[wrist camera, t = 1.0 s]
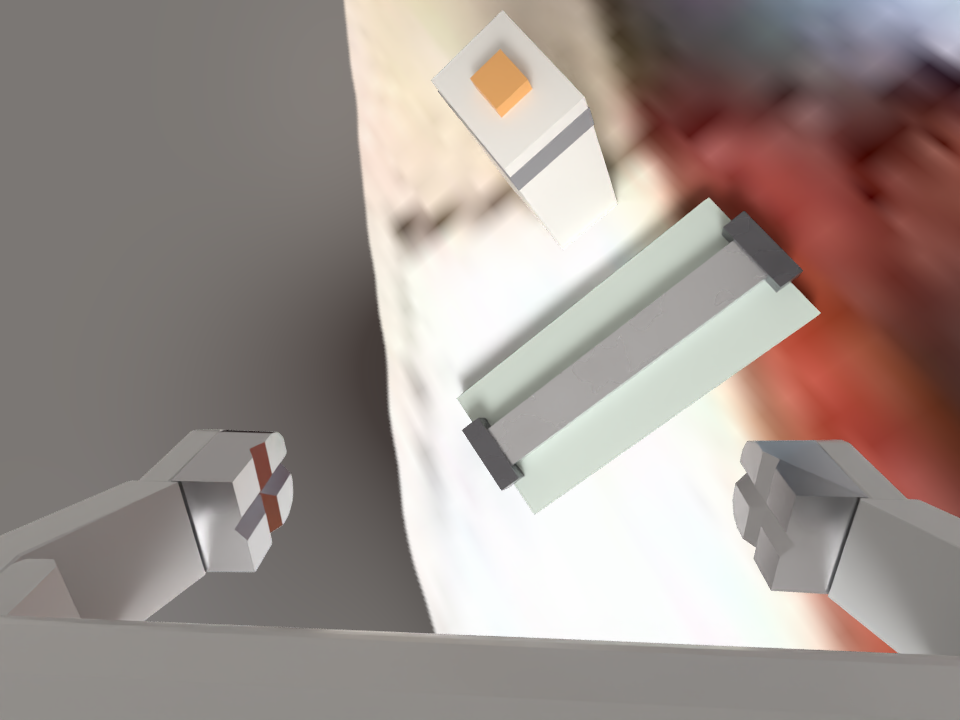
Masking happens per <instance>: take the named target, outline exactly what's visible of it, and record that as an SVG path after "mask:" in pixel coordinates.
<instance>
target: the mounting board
mask: <svg viewBox="0 0 960 720" xmlns="http://www.w3.org/2000/svg"><path fill="white" fill-rule="evenodd" d="M730 221H731V220H730V219H729V218H728V217H727V216H726V215H725V214H724V213H723V212H722V210H721V209H720V208H719V207H718V206H717V205H716V204H715V203H714V202H713V201H712V200H711V199H710V198H709V197H708V198H707V199H706V200H704V201H703V202H702V203H701V204H699V205H698V206H697V207H696V208H694V209H693V210H692V211H691V212H689V213H688V214H687V215H686V216H684V217H683V218H682V219H681V220H679V221H678V222H677V223H676V224H674V225H673V226H672V227H671V228H669V229H668V230H667V231H666V232H664V233H663V234H662V235H661V236H659V237H658V238H657V239H656V240H654V241H653V242H652V243H651V244H649V245H648V246H647V247H646V248H644V249H643V250H642V251H641V252H639V253H638V254H637V255H636V256H634V257H633V258H632V259H631V260H629V261H628V262H627V263H626V264H624V265H623V266H622V267H621V268H619V269H618V270H617V271H616V272H614V273H613V274H612V275H611V276H609V277H608V278H607V279H605V280H604V281H603V282H602V283H600V284H599V285H598V286H597V287H595V288H594V289H593V290H592V291H590V292H589V293H588V294H587V295H585V296H584V297H583V298H582V299H580V300H579V301H578V302H577V303H575V304H574V305H573V306H572V307H570V308H569V309H568V310H567V311H565V312H564V313H563V314H562V315H560V316H559V317H558V318H557V319H555V320H554V321H553V322H552V323H550V324H549V325H548V326H547V327H545V328H544V329H543V330H542V331H540V332H539V333H538V334H537V335H535V336H534V337H533V338H532V339H530V340H529V341H528V342H527V343H525V344H524V345H523V346H522V347H520V348H519V349H518V350H517V351H515V352H514V353H513V354H512V355H510V356H509V357H508V358H506V359H505V360H504V361H503V362H501V363H500V364H499V365H498V366H496V367H495V368H494V369H493V370H491V371H490V372H489V373H488V374H486V375H485V376H484V377H483V378H481V379H480V380H479V381H478V382H476V383H475V384H474V385H473V386H471V387H470V388H469V389H468V390H466V391H465V392H464V393H463V394H461V395H460V396H459V397H458V398H457V399H458V401H459V402H460V404H461V405H462V407H463V408H464V410H465V411H466V413H467V414H468V416H469V417H470V419H471V420H472V422H473V421H475V420H476V419H477V418H486V419H487V421H488V422H489V424H490V425H491V426H492V425H494V424H495V423H496V422H498V421H499V420H500V419H502V418H503V417H504V416H505V415H507V414H508V413H509V412H511V411H512V410H513V409H515V408H516V407H517V406H518V405H520V404H521V403H522V402H524V401H525V400H526V399H528V398H529V397H530V396H531V395H533V394H534V393H535V392H537V391H538V390H539V389H541V388H542V387H543V386H545V385H546V384H547V383H548V382H550V381H551V380H552V379H554V378H555V377H556V376H558V375H559V374H560V373H561V372H563V371H564V370H565V369H567V368H568V367H569V366H571V365H572V364H573V363H574V362H576V361H577V360H578V359H580V358H581V357H582V356H584V355H585V354H586V353H587V352H589V351H590V350H591V349H593V348H594V347H595V346H597V345H598V344H599V343H601V342H602V341H603V340H604V339H606V338H607V337H608V336H610V335H611V334H612V333H614V332H615V331H616V330H617V329H619V328H620V327H621V326H623V325H624V324H625V323H627V322H628V321H629V320H630V319H632V318H633V317H634V316H636V315H637V314H638V313H640V312H641V311H642V310H643V309H645V308H646V307H647V306H649V305H650V304H651V303H653V302H654V301H655V300H657V299H658V298H659V297H660V296H662V295H663V294H664V293H666V292H667V291H668V290H670V289H671V288H672V287H673V286H675V285H676V284H677V283H679V282H680V281H681V280H683V279H684V278H685V277H686V276H688V275H689V274H690V273H692V272H693V271H694V270H696V269H697V268H698V267H699V266H701V265H702V264H703V263H705V262H706V261H707V260H709V259H710V258H711V257H712V256H714V255H715V254H716V253H718V252H719V251H720V250H722V249H723V248H724V247H726V246H727V245H728V244H729V242H728V241H727V240H726V239H725V238H724V237H723V236H722V230H723V227H724V226H725V225H726V224H728V223H729V222H730ZM819 314H820V312H819V311H818V310H817V309H816V308H815V307H814V306H813V305H812V304H811V303H810V302H809V300H808V299H807V298H806V297H805V296H804V295H803V294H802V293H801V292H800V291H799V290H798V289H797V288H796V287H795V286H794V285H793V284H792V283H789V284H788V285H786V286H785V287H784V288H782V289H781V290H780V291H778V292H777V293H776V292H775V291H774V290H773V288H772V287H771V286H770V285H769V284H768V283H767V282H766V281H764V282H763V283H761V284H760V285H759V286H757V287H756V288H755V289H753V290H752V291H751V292H749V293H748V294H746V295H745V296H744V297H742V298H741V299H740V300H738V301H737V302H736V303H734V304H733V305H732V306H730V307H729V308H727V309H726V310H725V311H723V312H722V313H721V314H719V315H718V316H717V317H715V318H714V319H713V320H711V321H710V322H708V323H707V324H706V325H704V326H703V327H702V328H700V329H699V330H698V331H696V332H695V333H694V334H692V335H691V336H690V337H688V338H687V339H685V340H684V341H683V342H681V343H680V344H679V345H677V346H676V347H675V348H673V349H672V350H671V351H669V352H668V353H666V354H665V355H664V356H662V357H661V358H660V359H658V360H657V361H656V362H654V363H653V364H652V365H650V366H649V367H647V368H646V369H645V370H643V371H642V372H641V373H639V374H638V375H637V376H635V377H634V378H633V379H631V380H630V381H629V382H627V383H626V384H624V385H623V386H622V387H620V388H619V389H618V390H616V391H615V392H614V393H612V394H611V395H610V396H608V397H607V398H605V399H604V400H603V401H601V402H600V403H599V404H597V405H596V406H595V407H593V408H592V409H591V410H589V411H588V412H586V413H585V414H584V415H582V416H581V417H580V418H578V419H577V420H576V421H574V422H573V423H572V424H570V425H569V426H567V427H566V428H565V429H563V430H562V431H561V432H559V433H558V434H557V435H555V436H554V437H553V438H551V439H550V440H549V441H547V442H546V443H544V444H543V445H542V446H540V447H539V448H538V449H536V450H535V451H534V452H532V453H531V454H530V455H528V456H527V457H525V458H524V459H523V460H521V461H520V462H519V463H517V465H518V467H519V468H520V469H521V471H522V472H523V474H524V475H525V476H524V477H523V478H521V479H520V480H519V481H517V482H516V483H514V485H515V486H516V488H517V489H518V491H519V492H520V494H521V495H522V497H523V498H524V500H525V501H526V503H527V504H528V506H529V507H530V509H531V510H532V512H533V513H534V515H535V514H536V513H538V512H539V511H541V510H542V509H544V508H545V507H547V506H548V505H549V504H551V503H552V502H554V501H555V500H557V499H558V498H559V497H561V496H562V495H564V494H565V493H566V492H568V491H569V490H571V489H572V488H574V487H575V486H576V485H578V484H579V483H581V482H582V481H584V480H585V479H586V478H588V477H589V476H591V475H592V474H593V473H595V472H596V471H598V470H599V469H601V468H602V467H603V466H605V465H606V464H608V463H609V462H611V461H612V460H613V459H615V458H616V457H618V456H619V455H620V454H622V453H623V452H625V451H626V450H628V449H629V448H630V447H632V446H633V445H635V444H636V443H638V442H639V441H640V440H642V439H643V438H645V437H646V436H647V435H649V434H650V433H652V432H653V431H655V430H656V429H657V428H659V427H660V426H662V425H663V424H665V423H666V422H667V421H669V420H670V419H672V418H673V417H674V416H676V415H677V414H679V413H680V412H682V411H683V410H684V409H686V408H687V407H689V406H690V405H691V404H693V403H694V402H696V401H697V400H699V399H700V398H701V397H703V396H704V395H706V394H707V393H709V392H710V391H711V390H713V389H714V388H716V387H717V386H718V385H720V384H721V383H723V382H724V381H726V380H727V379H728V378H730V377H731V376H733V375H734V374H736V373H737V372H738V371H740V370H741V369H743V368H744V367H745V366H747V365H748V364H750V363H751V362H753V361H754V360H755V359H757V358H758V357H760V356H761V355H763V354H764V353H765V352H767V351H768V350H770V349H771V348H772V347H774V346H775V345H777V344H778V343H780V342H781V341H782V340H784V339H785V338H787V337H788V336H790V335H791V334H792V333H794V332H795V331H797V330H798V329H799V328H801V327H802V326H804V325H805V324H807V323H808V322H809V321H811V320H812V319H814V318H815V317H816V316H818V315H819Z"/></svg>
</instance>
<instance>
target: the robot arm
mask: <svg viewBox="0 0 960 720" xmlns="http://www.w3.org/2000/svg"><path fill="white" fill-rule="evenodd" d="M286 453H287V452H286V448H285V443H284V439H283V437H282V436H281V435H280V434H279V433H278V432H270V431H269V432H268V431H243V430H221V429H212V430H211V429H204V430H203V429H200V430H194V431H191V432H190V433H189V434H188V435H187V436H186V437H185V438H183V439H182V440H181V441H180V442H179V443H178V444H177V445H176V446H175V447H174V448H173V449H172V450H171V451H170V452H169V453H167V455H165V456H164V457H163V458H162V459H161V460H160V461H159V462H158V463H157V464H156V465H155V466H154V467H153V468H152V469H150V470H149V471H148V472H147V473H146V474H145V475H144V476H143V477H142V478H141V479H140V480H139V481H128V482H125V483H123V484H121V485H118V486H116V487H114V488H111V489H109V490H107V491H104V492H102V493H99V494H97V495H95V496H92V497H90V498H88V499H86V500H83V501H81V502H79V503H76V504H74V505H71V506H69V507H67V508H64V509H62V510H60V511H57V512H55V513H52V514H50V515H48V516H46V517H43V518H41V519H38V520H36V521H34V522H31V523H29V524H27V525H25V526H22V527H20V528H18V529H15V530H13V531H10V532H8V533H6V534H3V535H1V536H0V720H960V518H958V517H956V516H954V515H951V514H949V513H947V512H945V511H942V510H940V509H938V508H936V507H934V506H931V505H929V504H927V503H925V502H922V501H920V500H911V499H907V498H906V497H905V496H904V495H903V494H902V493H901V492H900V491H899V490H897V489H896V488H895V487H894V486H893V485H892V484H891V483H890V482H889V481H888V480H887V479H886V478H885V477H884V476H883V475H882V474H881V473H880V472H879V471H878V470H877V469H876V468H875V467H874V466H873V465H872V464H871V463H870V462H868V461H867V460H866V459H865V458H864V457H863V456H862V455H861V454H860V453H859V452H858V451H857V450H856V449H855V448H854V447H853V446H852V445H851V444H850V443H848V442H845V441H843V440H807V441H747V443H746V444H745V446H744V448H743V451H742V455H741V459H740V463H741V464H742V466H743V467H744V469H745V471H746V472H747V473H746V474H745V475H744V476H743V477H742V478H741V479H740V480H739V481H738V482H736V483H735V489H734V495H733V512H734V518H735V522H736V525H737V528H738V530H739V532H740V534H741V536H742V538H743V539H744V540H746V541H747V542H749V543H750V544H752V545H753V546H755V547H756V550H755V555H754V560H755V562H756V564H757V566H758V568H759V569H760V571H761V573H762V575H763V577H764V579H765V580H766V582H767V584H768V586H769V588H770V590H771V591H786V592H803V593H819V594H829V595H828V597H829V598H830V599H832V600H833V601H834V602H835V603H837V604H838V605H839V606H840V607H842V608H843V609H844V610H845V611H847V612H848V613H849V614H850V615H852V616H853V617H854V618H855V619H857V620H858V621H859V622H860V623H862V624H863V625H864V626H865V627H867V628H868V629H869V630H870V631H872V632H873V633H874V634H875V635H876V636H878V637H879V638H880V639H881V640H883V641H884V642H885V643H886V644H888V645H889V646H890V647H891V648H893V649H894V650H895V651H896V652H898V653H875V652H852V651H829V650H806V649H783V648H760V647H737V646H714V645H691V644H668V643H645V642H621V641H598V640H575V639H550V638H526V637H501V636H477V635H452V634H429V633H428V634H427V633H405V632H404V633H403V632H382V631H359V630H336V629H313V628H290V627H266V626H244V625H220V624H196V623H173V622H151V621H145V620H146V619H147V618H148V617H150V616H151V615H152V614H154V613H155V612H156V611H158V610H159V609H160V608H161V607H163V606H164V605H166V604H167V603H168V602H170V601H171V600H172V599H174V598H175V597H176V596H177V595H179V594H180V593H181V592H183V591H184V590H185V589H187V588H188V587H189V586H191V585H192V584H193V583H195V582H196V581H197V580H199V579H200V578H201V577H203V576H204V575H205V572H256V570H257V568H258V566H259V565H260V563H261V561H262V560H263V558H264V556H265V554H266V553H267V551H268V550H269V548H270V546H271V544H272V540H271V535H270V533H271V532H273V531H274V530H276V529H277V528H279V527H280V526H282V525H283V524H284V522H285V520H286V518H287V516H288V515H289V512H290V508H291V504H292V500H293V482H292V477H291V473H290V472H289V471H288V470H287V469H286V468H285V467H284V466H283V465H282V464H281V461H282V460H283V458H284V456H285V455H286Z"/></svg>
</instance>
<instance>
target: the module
mask: <svg viewBox="0 0 960 720" xmlns="http://www.w3.org/2000/svg"><path fill="white" fill-rule="evenodd" d="M431 81H432V82H433V84H434V85H435V86H436V88H437V89H438V92H439V93H440V95H441V96H442V97H443V99H444V100H445V101H446V103H447V104H448V105H449V107H450V108H451V109H452V110H453V111H454V113H455V114H456V115H457V116H458V118H459V119H460V120H461V121H462V122H463V124H464V125H465V126H466V128H467V129H468V130H469V132H470V133H471V134H472V136H473V137H474V138H475V140H476V141H477V142H478V144H479V145H480V146H481V148H482V149H483V150H484V152H485V153H486V154H487V156H488V157H489V158H490V160H491V161H492V162H493V164H494V165H495V166H496V168H497V169H498V170H499V172H500V173H501V174H502V176H503V177H504V178H505V180H506V181H507V182H508V184H509V185H510V186H511V188H512V189H513V190H514V191H515V192H516V194H518V195H519V197H520V198H521V199H522V200H523V201H524V203H525V204H526V205H527V206H528V208H529V209H530V210H531V211H532V212H533V214H534V215H535V216H536V217H537V219H538V220H539V221H540V222H541V223H542V225H543V226H544V227H545V228H546V230H547V231H548V232H549V233H550V234H551V236H552V237H553V239H554V240H555V241H556V242H557V244H558V245H559V246H560V247H561V249H562V250H564V249H565V248H566V247H567V246H569V245H570V244H571V243H572V242H573V241H575V240H576V239H577V238H578V237H579V236H581V235H582V234H583V233H584V232H585V231H587V230H588V229H589V228H590V227H592V226H593V225H594V224H595V223H596V222H598V221H599V220H600V219H601V218H602V217H604V216H605V215H606V214H607V213H608V212H610V211H611V210H612V209H613V208H614V207H616V206H617V205H618V203H617V200H616V197H615V194H614V190H613V187H612V184H611V181H610V177H609V174H608V171H607V168H606V164H605V161H604V158H603V155H602V152H601V148H600V145H599V142H598V139H597V135H596V132H595V129H594V126H593V125H594V121H593V118H592V115H591V111H590V108H589V107H588V106H587V103H586V100H585V97H584V96H583V95H582V94H581V93H580V91H579V90H578V89H577V88H576V87H575V86H574V85H573V84H572V83H571V82H570V81H569V80H568V79H567V78H566V77H565V76H564V75H563V73H562V72H561V71H560V70H559V69H558V68H557V67H556V66H555V65H554V64H553V63H552V62H551V61H550V60H549V59H548V58H547V57H546V55H545V54H544V53H543V52H542V51H541V50H540V49H539V48H538V47H537V46H536V45H535V44H534V43H533V42H532V41H531V40H530V39H529V37H528V36H527V35H526V34H525V33H524V32H523V31H522V30H521V29H520V28H519V27H518V26H517V25H516V24H515V23H514V22H513V20H512V19H511V18H510V17H509V16H508V15H507V14H506V13H505V12H504V11H503V10H502V11H501V12H500V13H499V14H498V15H497V16H496V17H495V18H494V19H493V20H492V21H491V22H490V23H489V24H488V25H487V26H486V27H485V28H484V29H483V30H482V31H481V32H480V33H479V34H478V35H477V36H476V37H474V38H473V39H472V40H471V41H470V42H469V43H468V44H467V45H466V46H465V47H464V48H463V49H462V50H461V51H460V52H459V53H458V54H457V55H456V56H455V57H454V58H453V59H452V60H451V61H450V62H449V63H448V64H447V65H446V66H445V67H444V68H443V69H442V70H441V71H440V72H439V73H438V74H437V75H436V76H435V77H434V78H433V79H432V80H431Z"/></svg>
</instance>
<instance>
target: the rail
mask: <svg viewBox="0 0 960 720" xmlns="http://www.w3.org/2000/svg"><path fill="white" fill-rule="evenodd" d="M722 236H723V237H724V238H725V239H726V240H727V241H728V242H729V244H728V245H727V246H726V247H724V248H723V249H722V250H720V251H719V252H718V253H716V254H715V255H714V256H712V257H711V258H710V259H709V260H707V261H706V262H705V263H703V264H702V265H701V266H699V267H698V268H697V269H696V270H694V271H693V272H692V273H690V274H689V275H688V276H686V277H685V278H684V279H683V280H681V281H680V282H679V283H677V284H676V285H675V286H673V287H672V288H671V289H670V290H668V291H667V292H666V293H664V294H663V295H662V296H660V297H659V298H658V299H657V300H655V301H654V302H653V303H651V304H650V305H649V306H647V307H646V308H645V309H643V310H642V311H641V312H640V313H638V314H637V315H636V316H634V317H633V318H632V319H630V320H629V321H628V322H627V323H625V324H624V325H623V326H621V327H620V328H619V329H617V330H616V331H615V332H614V333H612V334H611V335H610V336H608V337H607V338H606V339H604V340H603V341H602V342H601V343H599V344H598V345H597V346H595V347H594V348H593V349H591V350H590V351H589V352H587V353H586V354H585V355H584V356H582V357H581V358H580V359H578V360H577V361H576V362H574V363H573V364H572V365H571V366H569V367H568V368H567V369H565V370H564V371H563V372H561V373H560V374H559V375H558V376H556V377H555V378H554V379H552V380H551V381H550V382H548V383H547V384H546V385H545V386H543V387H542V388H541V389H539V390H538V391H537V392H535V393H534V394H533V395H531V396H530V397H529V398H528V399H526V400H525V401H524V402H522V403H521V404H520V405H518V406H517V407H516V408H515V409H513V410H512V411H511V412H509V413H508V414H507V415H505V416H504V417H503V418H502V419H500V420H499V421H498V422H496V423H495V424H494V425H492V426H491V425H490V424H489V422H488V421H487V419H486V418H477V419H476V420H475V421H473V422H472V423H471V424H469V425H468V426H467V427H466V428H464V429H463V430H462V431H463V432H464V434H465V435H466V437H467V439H468V440H469V442H470V443H471V445H472V446H473V448H474V449H475V451H476V452H477V454H478V455H479V457H480V458H481V460H482V461H483V463H484V464H485V466H486V468H487V469H488V471H489V472H490V474H491V475H492V477H493V478H494V480H495V481H496V483H497V484H498V486H499V487H500V489H501V490H505V489H507V488H509V487H510V486H512V485H513V484H514V483H516V482H517V481H519V480H520V479H521V478H523V477H524V476H525V475H524V474H523V472H522V471H521V469H520V468H519V467H518V465H517V463H519V462H520V461H521V460H523V459H524V458H525V457H527V456H528V455H530V454H531V453H532V452H534V451H535V450H536V449H538V448H539V447H540V446H542V445H543V444H544V443H546V442H547V441H549V440H550V439H551V438H553V437H554V436H555V435H557V434H558V433H559V432H561V431H562V430H563V429H565V428H566V427H567V426H569V425H570V424H572V423H573V422H574V421H576V420H577V419H578V418H580V417H581V416H582V415H584V414H585V413H586V412H588V411H589V410H591V409H592V408H593V407H595V406H596V405H597V404H599V403H600V402H601V401H603V400H604V399H605V398H607V397H608V396H610V395H611V394H612V393H614V392H615V391H616V390H618V389H619V388H620V387H622V386H623V385H624V384H626V383H627V382H629V381H630V380H631V379H633V378H634V377H635V376H637V375H638V374H639V373H641V372H642V371H643V370H645V369H646V368H647V367H649V366H650V365H652V364H653V363H654V362H656V361H657V360H658V359H660V358H661V357H662V356H664V355H665V354H666V353H668V352H669V351H671V350H672V349H673V348H675V347H676V346H677V345H679V344H680V343H681V342H683V341H684V340H685V339H687V338H688V337H690V336H691V335H692V334H694V333H695V332H696V331H698V330H699V329H700V328H702V327H703V326H704V325H706V324H707V323H708V322H710V321H711V320H713V319H714V318H715V317H717V316H718V315H719V314H721V313H722V312H723V311H725V310H726V309H727V308H729V307H730V306H732V305H733V304H734V303H736V302H737V301H738V300H740V299H741V298H742V297H744V296H745V295H746V294H748V293H749V292H751V291H752V290H753V289H755V288H756V287H757V286H759V285H760V284H761V283H763V282H764V281H766V282H767V283H768V284H769V285H770V286H771V287H772V288H773V290H774V291H775V292H776V293H777V292H778V291H780V290H781V289H782V288H784V287H785V286H786V285H788V284H789V283H791V282H792V281H793V280H795V279H796V278H797V277H799V275H800V274H801V273H802V272H803V270H802V269H801V268H800V267H799V266H798V265H797V264H796V263H795V262H794V261H793V260H792V259H791V258H790V257H789V256H788V255H787V254H786V253H785V252H784V251H783V250H782V249H781V248H780V247H779V246H778V245H777V244H776V243H775V242H774V241H773V240H772V239H771V238H770V236H769V235H768V234H767V233H766V232H765V231H764V230H763V229H762V228H761V227H760V226H759V225H758V224H757V223H756V222H755V221H754V220H753V219H752V218H751V217H750V216H749V215H748V214H747V213H746V212H745V211H743V212H742V213H741V214H739V215H738V216H737V217H735V218H734V219H733V220H732V221H730V222H729V223H728V224H726V225H725V226H724V227H723V230H722Z"/></svg>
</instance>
